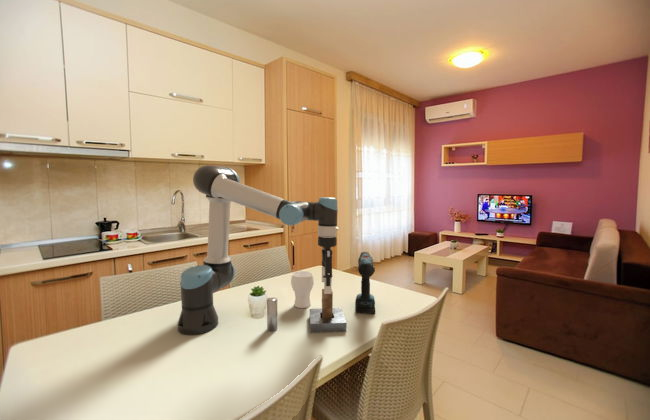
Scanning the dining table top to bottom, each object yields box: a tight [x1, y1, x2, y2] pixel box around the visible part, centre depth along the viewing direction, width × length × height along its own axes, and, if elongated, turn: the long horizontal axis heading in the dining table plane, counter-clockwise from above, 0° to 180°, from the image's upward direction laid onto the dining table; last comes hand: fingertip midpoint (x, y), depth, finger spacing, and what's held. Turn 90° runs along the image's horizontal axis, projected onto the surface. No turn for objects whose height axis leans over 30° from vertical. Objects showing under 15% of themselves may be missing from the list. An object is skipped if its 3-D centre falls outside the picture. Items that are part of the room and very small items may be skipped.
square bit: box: [321, 288, 334, 319], centre depth 121 cm, size 4×4×14 cm
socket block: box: [309, 307, 348, 334], centre depth 122 cm, size 14×14×4 cm
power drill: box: [355, 251, 376, 315], centre depth 137 cm, size 9×23×25 cm, turn 174°
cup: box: [290, 270, 315, 309], centre depth 141 cm, size 11×11×15 cm
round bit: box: [266, 297, 278, 332], centre depth 117 cm, size 4×4×12 cm
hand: (326, 287), depth 121 cm, fingers open, 13 cm apart
